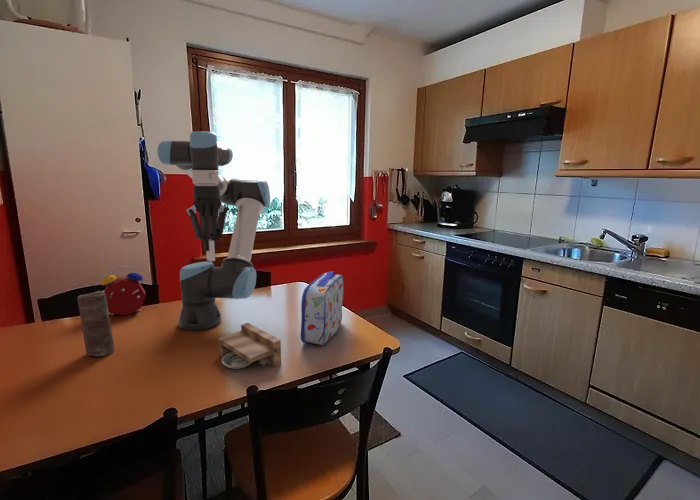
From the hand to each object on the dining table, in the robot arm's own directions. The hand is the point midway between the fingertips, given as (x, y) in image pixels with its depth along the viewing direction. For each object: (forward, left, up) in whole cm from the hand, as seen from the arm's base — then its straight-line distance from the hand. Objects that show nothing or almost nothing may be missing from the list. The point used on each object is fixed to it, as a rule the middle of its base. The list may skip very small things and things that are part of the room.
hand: (211, 260), depth 116 cm
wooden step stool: (+16, +2, -29) cm, 33 cm away
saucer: (+16, -1, -30) cm, 34 cm away
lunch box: (+18, +32, -30) cm, 47 cm away
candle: (-21, -28, -30) cm, 46 cm away
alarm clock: (-51, -12, -30) cm, 60 cm away
